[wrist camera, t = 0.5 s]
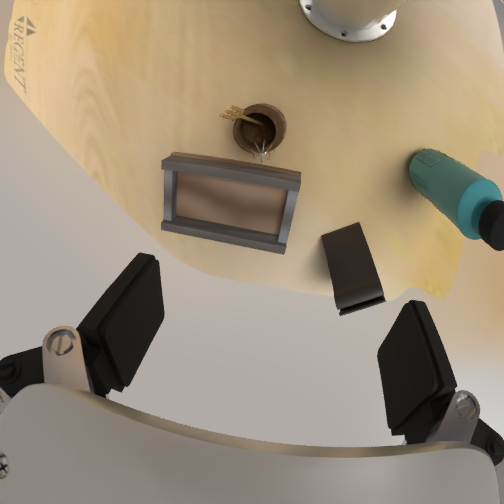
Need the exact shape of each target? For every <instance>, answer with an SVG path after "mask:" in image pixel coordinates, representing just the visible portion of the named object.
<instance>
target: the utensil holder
mask: <svg viewBox="0 0 504 504" xmlns="http://www.w3.org/2000/svg"><path fill="white" fill-rule="evenodd" d="M230 108H231V109H233V110H236V111H237V112H233V111H230V110H226V111H225V112H226V113H228V114H231V116H228V115H225V114H221V115H220V117H223V118H226V119H229V120H232V121H233V120H235V119H236V121H235V124H234V128H233V133H234V138H235V140H236V142H237V144H238V145H239V146H240V147H241V148H242V149H244V150H245V151H247V152H250V153H256V154H259V153H261V154H260V155H261V162H262V158H263V156H264V154H265V153H266V152H269V151H271V150H273V149H274V148H276V147H277V146H278V145H279V144H280V143H281V141H282V140H283V138H284V135H285V132H286V121H285V118H284V116H283V114H282V113H281V112H280V111H279V110H278V109H277V108H275V107H274V106H271V105H268V104H256V105H252V106H249V107H247V108H246V109H244V110H243V109H240V108H238V107H235V106H231V107H230ZM262 153H264V154H262ZM273 154H274V153H273ZM269 155H272V154H270V153H269ZM253 157H254V154H253ZM259 157H260V156H259ZM264 157H265V156H264ZM257 158H258V157H257ZM265 158H266V157H265ZM266 159H267V158H266ZM267 160H268V159H267ZM269 160H270V159H269Z"/></svg>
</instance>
